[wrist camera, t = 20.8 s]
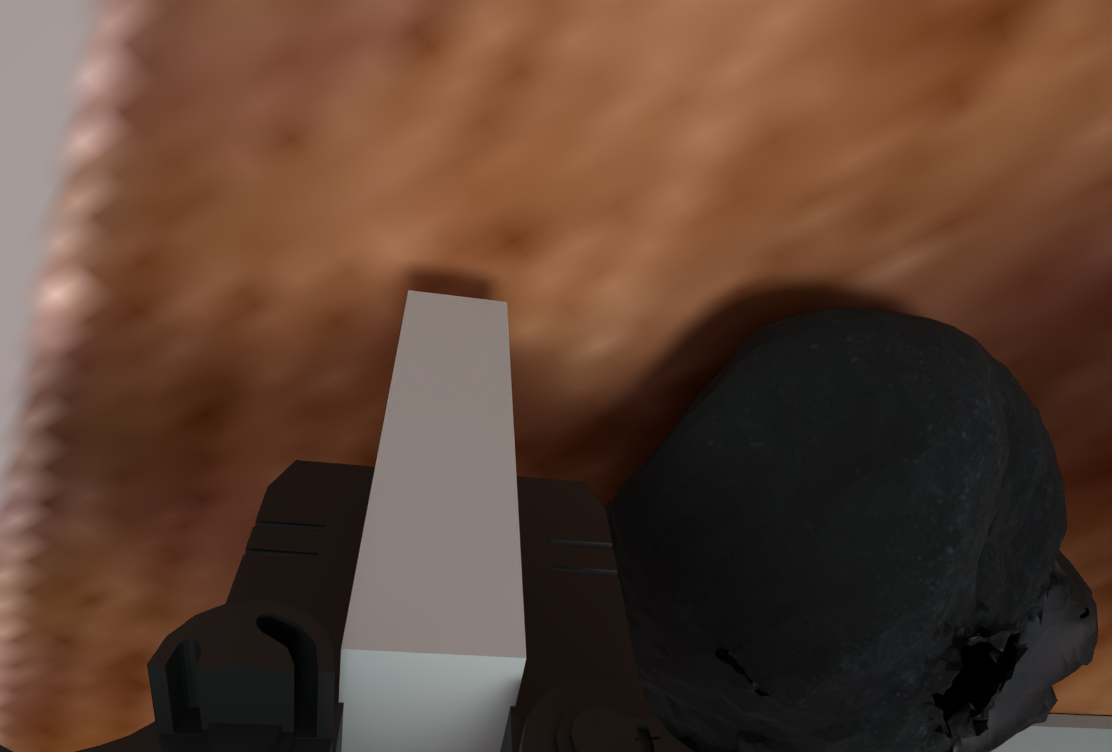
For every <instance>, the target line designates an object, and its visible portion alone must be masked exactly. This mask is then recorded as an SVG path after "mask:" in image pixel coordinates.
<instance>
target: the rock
mask: <svg viewBox="0 0 1112 752" xmlns="http://www.w3.org/2000/svg"><path fill="white" fill-rule="evenodd" d="M604 509H605V510H606V513H607V518H608V523H609V529H610V534H611V539H612V550H614V554H615V559H616V565H617V570H618V571H617V577H618V578H619V580H620V585H621V590H622V595H623V601H624V606H625V611H626V616H627V621H628V626H629V631H630V637H631V642H632V647H633V652H634V657H635V662H636V667H637V673H638V678H639V682H640V685H641V688H642V692H643V695H644V698H645V701H646V702H647V704H648V705H649V707H650V709H651V710H652V711H653V712H654V714H655V715H656V716H657V717H658V718H659V719H660V720H661V721H662V722H663V724H664V727H665V728H666V729H667V731H668V732H669V733H670V734H671V735H672V736H673V737H675V738H676V739H677V740H679V741H680V742H681V743H683V744H684V745H686V746H687V747H688V748H690V749H691V750H692V751H695V752H991V751H992V750H994V749H996V748H997V747H999V746H1000V745H1002V744H1003V743H1005V742H1006V741H1007V740H1009V739H1010V738H1012V737H1013V736H1014V735H1016V734H1017V733H1019V732H1021V731H1024V730H1025V729H1027V728H1028V727H1030V726H1032V725H1033V724H1037V723H1044V722H1045V721H1046V720H1047V718H1048V715H1049V713H1050V711H1051V709H1052V708H1053V706H1054V705H1055V704H1056V702H1057V701H1058V700H1057V698H1056V696H1055V693H1054V691H1053V688H1052V685H1053V684H1055V683H1057V682H1059V681H1060V680H1062V679H1064V678H1066V677H1067V676H1069V675H1070V674H1072V673H1073V672H1075V671H1076V670H1077V669H1078V668H1080V667H1081V666H1082V665H1088V664H1089V663H1090V662H1091V661H1092V658H1093V654H1094V649H1095V646H1096V643H1097V637H1098V622H1097V609H1096V604H1095V602H1094V600H1093V598H1092V592H1091V589H1090V588H1089V587H1088V585H1087V584H1086V583H1085V581H1084V580H1083V579H1082V577H1081V576H1080V575H1079V573H1078V572H1077V571H1076V569H1075V568H1074V567H1073V565H1072V564H1071V563H1070V561H1069V560H1068V559H1067V558H1066V557H1065V556H1064V555H1063V554H1062V553H1061V552H1060V550H1059V549H1060V543H1061V541H1062V540H1063V538H1064V535H1065V532H1066V528H1067V522H1066V506H1065V497H1064V485H1063V481H1062V478H1061V474H1060V470H1059V467H1058V463H1057V459H1056V455H1055V451H1054V448H1053V445H1052V443H1051V440H1050V437H1049V435H1048V432H1047V430H1046V428H1045V427H1044V425H1043V423H1042V421H1041V417H1040V413H1039V411H1038V410H1037V409H1036V408H1035V407H1034V406H1033V404H1032V403H1031V401H1030V400H1029V398H1028V397H1027V395H1026V393H1025V392H1024V390H1023V389H1022V387H1021V386H1020V384H1019V383H1018V381H1017V380H1016V379H1015V378H1014V376H1013V375H1012V374H1011V373H1010V371H1009V370H1008V369H1007V367H1006V366H1005V365H1003V364H1002V363H1000V362H999V361H997V360H996V359H994V358H993V357H992V356H991V355H990V354H989V353H988V352H987V351H986V350H985V349H984V348H983V347H982V346H981V344H980V343H979V342H978V341H977V340H976V339H974V338H972V337H971V336H969V335H967V334H965V333H964V332H962V331H960V330H959V329H957V328H955V327H954V326H951V325H948V324H945V323H942V322H939V321H936V320H933V319H929V318H925V317H919V316H914V315H908V314H902V313H898V312H894V311H890V310H886V309H882V308H867V307H839V308H830V309H818V310H811V311H807V312H803V313H799V314H796V315H792V316H788V317H786V318H783V319H781V320H779V321H776V322H774V323H771V324H769V325H767V326H764V327H762V328H759V329H757V330H755V331H754V332H752V333H751V334H750V335H749V336H747V337H746V338H745V340H744V341H743V343H742V344H741V346H740V347H739V349H738V350H737V352H736V353H735V354H734V355H733V356H732V358H731V359H730V360H729V361H728V363H727V364H726V365H725V366H724V368H723V369H722V370H721V371H720V372H719V374H718V375H717V376H716V377H715V378H714V379H713V381H712V382H711V383H710V384H709V385H708V386H707V387H706V388H705V389H704V390H703V391H702V392H701V393H700V394H699V395H698V397H697V398H696V399H695V400H694V401H693V402H692V404H691V405H690V406H689V407H688V408H687V409H686V411H685V412H684V413H683V414H682V416H681V417H680V419H679V420H678V421H677V423H676V424H675V425H674V427H673V428H672V430H671V431H670V432H669V434H668V435H667V436H666V438H665V439H664V440H663V442H662V443H661V444H660V446H659V447H658V448H657V449H656V450H655V451H654V452H653V453H652V454H651V455H650V456H649V457H648V459H647V460H646V462H645V463H644V464H643V465H641V466H640V467H638V468H637V469H636V470H635V471H634V472H633V473H632V474H631V475H630V476H629V477H628V478H627V479H626V480H625V481H624V482H623V483H622V484H621V486H620V488H619V490H618V492H617V494H616V495H615V497H614V498H613V499H612V500H611V501H610V502H609V504H608V505H607V506H606V507H605V508H604Z"/></svg>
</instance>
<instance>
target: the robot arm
mask: <svg viewBox="0 0 1112 752" xmlns="http://www.w3.org/2000/svg"><path fill="white" fill-rule="evenodd" d="M617 571H618V570H617V565H616V559H615V554H614V550H612V539H611V534H610V529H609V523H608V518H607V513H606V510H605V509H604V508H603V506H602V505H601V504H600V502H599V501H598V499H597V498H596V497H595V495H594V494H593V493H592V491H591V490H590V489H589V487H588V486H587V485H586V483H585V482H577V481H566V480H554V479H542V478H531V477H519V476H516V457H515V439H514V421H513V402H512V384H511V366H510V347H509V329H508V310H507V302H503V301H495V300H486V299H478V298H470V297H461V296H453V295H445V294H436V293H428V292H420V291H411V290H408V295H407V300H406V305H405V311H404V316H403V321H402V327H401V332H400V337H399V343H398V348H397V353H396V359H395V364H394V369H393V375H392V380H391V385H390V391H389V396H388V401H387V407H386V412H385V417H384V423H383V428H382V433H381V439H380V444H379V449H378V455H377V460H376V465H375V467H371V466H359V465H347V464H335V463H323V462H312V461H300V460H296V461H295V462H294V463H292V464H291V465H290V466H289V467H288V468H287V469H286V470H285V471H284V472H283V473H282V474H281V475H280V476H279V477H278V478H277V479H276V480H275V481H273V482H272V483H271V484H270V485H269V486H268V488H267V491H266V493H265V496H264V499H263V502H262V504H261V507H260V510H259V513H258V516H257V518H256V524H255V527H253V529H252V532H251V535H250V538H249V541H248V543H247V546H246V552H245V556H244V555H243V557H242V560H241V563H240V566H239V568H238V571H237V574H236V577H235V580H234V582H233V585H232V588H231V591H230V593H229V596H228V599H227V602H226V604H224V605H221V606H219V607H216V608H213V609H211V610H208V611H205V612H202V613H200V614H197V615H195V616H194V617H192V618H191V619H189V620H188V621H187V622H185V623H184V624H183V625H181V626H180V627H179V628H177V629H176V630H175V631H173V632H172V633H171V634H169V635H168V636H167V637H166V638H165V639H164V641H163V642H162V644H161V645H160V647H159V648H158V650H157V651H156V652H155V654H154V655H153V657H152V658H151V660H150V661H149V663H148V664H147V667H148V674H149V680H150V687H151V694H152V701H153V708H154V715H155V722H153V723H151V724H149V725H148V726H146V727H144V728H142V729H140V730H138V731H137V732H135V733H133V734H131V735H129V736H126V737H123V738H121V739H118V740H115V741H112V742H109V743H106V744H103V745H100V746H96V747H92V748H88V749H84V750H80V751H76V752H695V751H692V750H691V749H690V748H688V747H687V746H686V745H684V744H683V743H681V742H680V741H679V740H677V739H676V738H675V737H673V736H672V735H671V734H670V733H669V732H668V731H667V729H666V728H665V727H664V724H663V722H662V721H661V720H660V719H659V718H658V717H657V716H656V715H655V714H654V712H653V711H652V710H651V709H650V707H649V705H648V704H647V702H646V701H645V698H644V695H643V692H642V688H641V685H640V682H639V678H638V673H637V667H636V662H635V657H634V652H633V647H632V642H631V637H630V631H629V626H628V621H627V616H626V611H625V606H624V601H623V595H622V590H621V585H620V580H619V578H618V577H617ZM0 752H12V751H11V750H9V749H7V748H5V747H3V746H1V745H0Z"/></svg>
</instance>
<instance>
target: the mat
mask: <svg viewBox="0 0 1112 752" xmlns="http://www.w3.org/2000/svg"><path fill="white" fill-rule="evenodd" d="M991 752H1112V717H1111V716H1088V715H1064V714H1049V715H1048V718H1047V720H1046V721H1045V722H1044V723H1037V724H1033V725H1032V726H1030V727H1028V728H1027V729H1025V730H1024V731H1021V732H1019V733H1017V734H1016V735H1014V736H1013V737H1012V738H1010V739H1009V740H1007V741H1006V742H1005V743H1003V744H1002V745H1000V746H999V747H997V748H996V749H994V750H992V751H991Z"/></svg>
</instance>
